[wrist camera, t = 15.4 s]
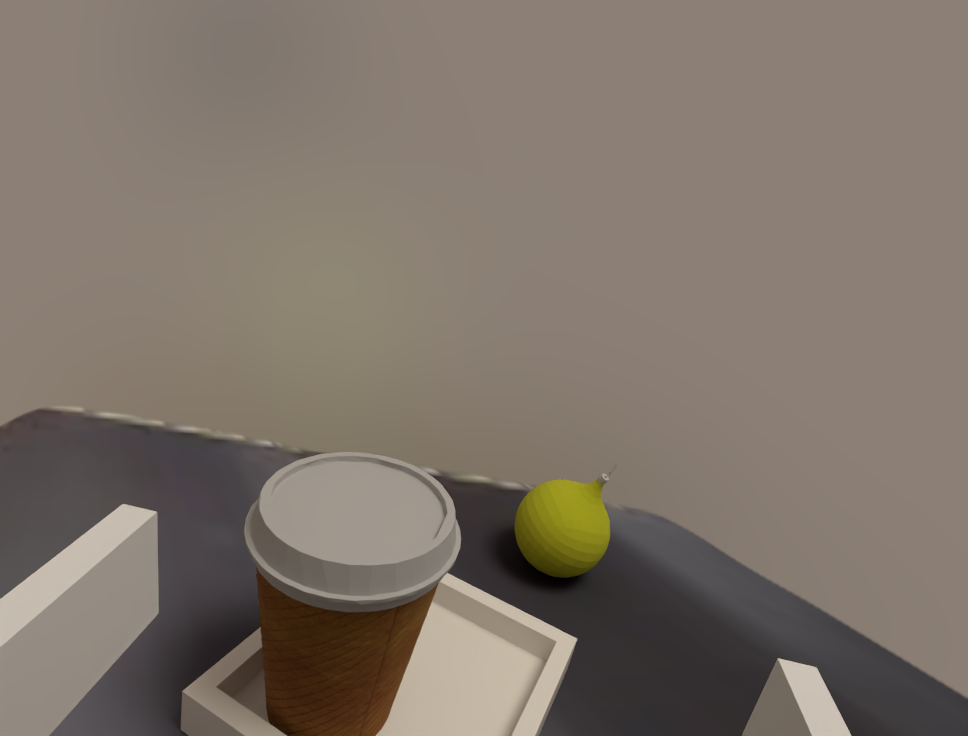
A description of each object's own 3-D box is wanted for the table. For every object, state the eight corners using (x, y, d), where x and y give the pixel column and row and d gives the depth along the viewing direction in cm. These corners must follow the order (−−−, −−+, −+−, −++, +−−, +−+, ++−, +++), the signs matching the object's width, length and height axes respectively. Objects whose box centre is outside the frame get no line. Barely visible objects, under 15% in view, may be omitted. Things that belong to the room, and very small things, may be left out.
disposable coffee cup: (251, 624, 33) (267, 438, 29) (417, 628, 36) (453, 456, 32) (206, 797, 25) (220, 567, 21) (429, 789, 27) (481, 580, 23)
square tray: (566, 670, 36) (577, 638, 35) (454, 932, 23) (466, 892, 22) (367, 564, 41) (372, 535, 40) (180, 729, 28) (182, 691, 27)
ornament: (610, 599, 43) (651, 483, 40) (519, 599, 41) (554, 477, 38) (576, 537, 49) (608, 433, 46) (496, 534, 47) (524, 425, 44)
